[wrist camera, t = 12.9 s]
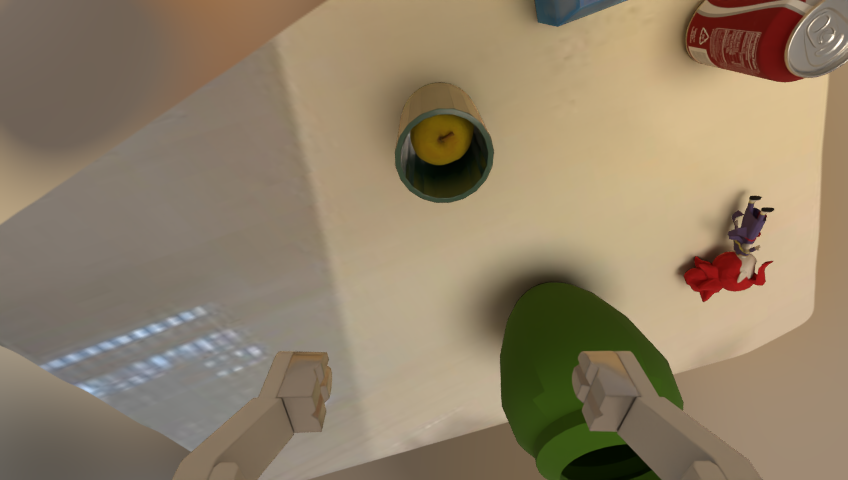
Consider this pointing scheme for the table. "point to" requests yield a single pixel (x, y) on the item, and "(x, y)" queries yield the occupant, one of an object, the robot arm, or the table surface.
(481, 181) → the green cup
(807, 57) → the soda can
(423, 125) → the apple
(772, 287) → the table surface
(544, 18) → the perfume bottle
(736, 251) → the figurine
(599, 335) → the vase
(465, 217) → the table surface
